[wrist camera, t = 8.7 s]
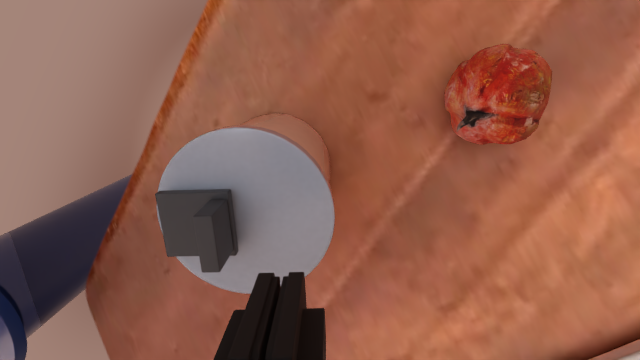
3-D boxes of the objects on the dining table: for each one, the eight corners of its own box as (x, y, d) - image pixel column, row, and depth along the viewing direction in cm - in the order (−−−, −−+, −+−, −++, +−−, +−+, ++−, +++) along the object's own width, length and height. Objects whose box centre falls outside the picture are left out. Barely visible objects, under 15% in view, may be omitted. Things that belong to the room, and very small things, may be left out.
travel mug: (228, 220, 33) (171, 295, 22) (214, 111, 30) (139, 130, 19) (336, 218, 33) (337, 294, 21) (333, 106, 30) (332, 124, 18)
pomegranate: (484, 39, 29) (410, 65, 25) (584, 24, 24) (513, 54, 19) (486, 120, 32) (421, 157, 27) (576, 124, 26) (513, 172, 22)
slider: (171, 252, 20) (144, 280, 17) (159, 190, 19) (129, 209, 16) (239, 251, 20) (223, 279, 17) (231, 188, 19) (212, 208, 16)
